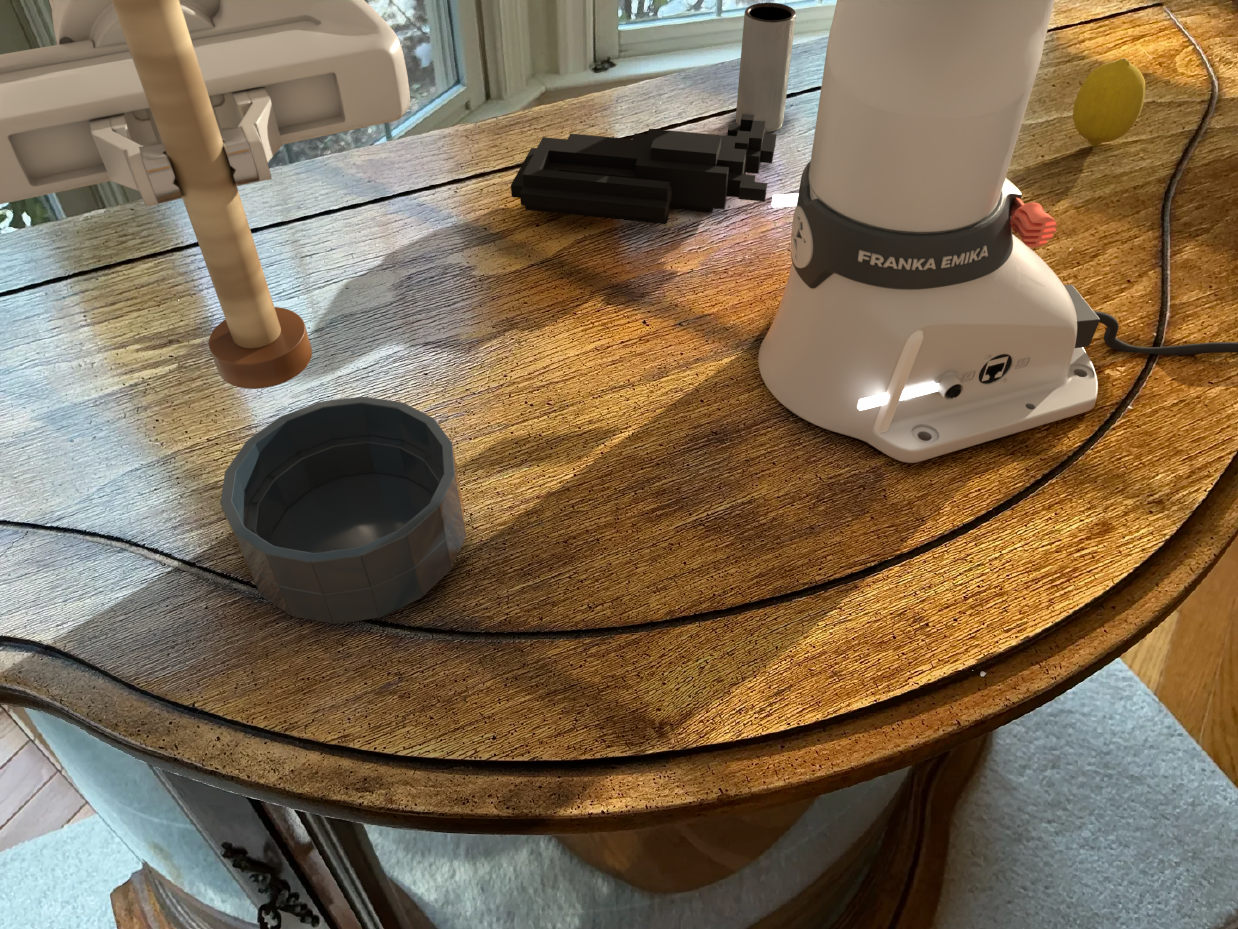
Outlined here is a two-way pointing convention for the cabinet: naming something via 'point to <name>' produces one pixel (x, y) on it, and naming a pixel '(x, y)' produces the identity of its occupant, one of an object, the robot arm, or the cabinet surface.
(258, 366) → the stirring stick
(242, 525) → the bowl
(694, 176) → the tool
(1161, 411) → the cabinet surface
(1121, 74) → the lemon
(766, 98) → the light grey tube
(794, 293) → the robot arm
